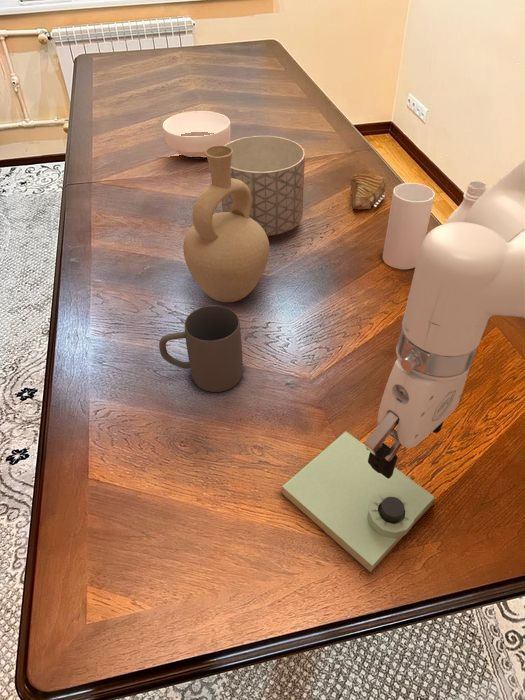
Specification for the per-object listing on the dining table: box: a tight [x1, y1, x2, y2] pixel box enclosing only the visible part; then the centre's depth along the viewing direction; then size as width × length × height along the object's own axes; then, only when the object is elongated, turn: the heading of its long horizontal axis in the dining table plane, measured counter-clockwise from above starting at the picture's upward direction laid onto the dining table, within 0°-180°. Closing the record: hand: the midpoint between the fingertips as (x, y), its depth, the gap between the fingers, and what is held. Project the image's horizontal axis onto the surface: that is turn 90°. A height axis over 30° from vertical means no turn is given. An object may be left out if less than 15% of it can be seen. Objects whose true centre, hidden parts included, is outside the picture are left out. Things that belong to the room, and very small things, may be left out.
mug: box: [158, 304, 244, 393], centre depth 90 cm, size 14×9×12 cm
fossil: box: [349, 173, 387, 210], centre depth 136 cm, size 12×6×9 cm
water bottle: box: [445, 180, 487, 224], centre depth 100 cm, size 7×7×25 cm
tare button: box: [380, 497, 405, 523], centre depth 71 cm, size 3×3×2 cm
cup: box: [382, 182, 436, 270], centre depth 114 cm, size 8×8×16 cm
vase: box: [182, 146, 270, 303], centre depth 101 cm, size 17×17×30 cm
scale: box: [281, 431, 436, 573], centre depth 75 cm, size 16×14×4 cm
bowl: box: [162, 110, 231, 159], centre depth 159 cm, size 20×20×8 cm
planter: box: [221, 135, 306, 237], centre depth 124 cm, size 19×19×18 cm
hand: (404, 446), depth 66 cm, fingers open, 9 cm apart
